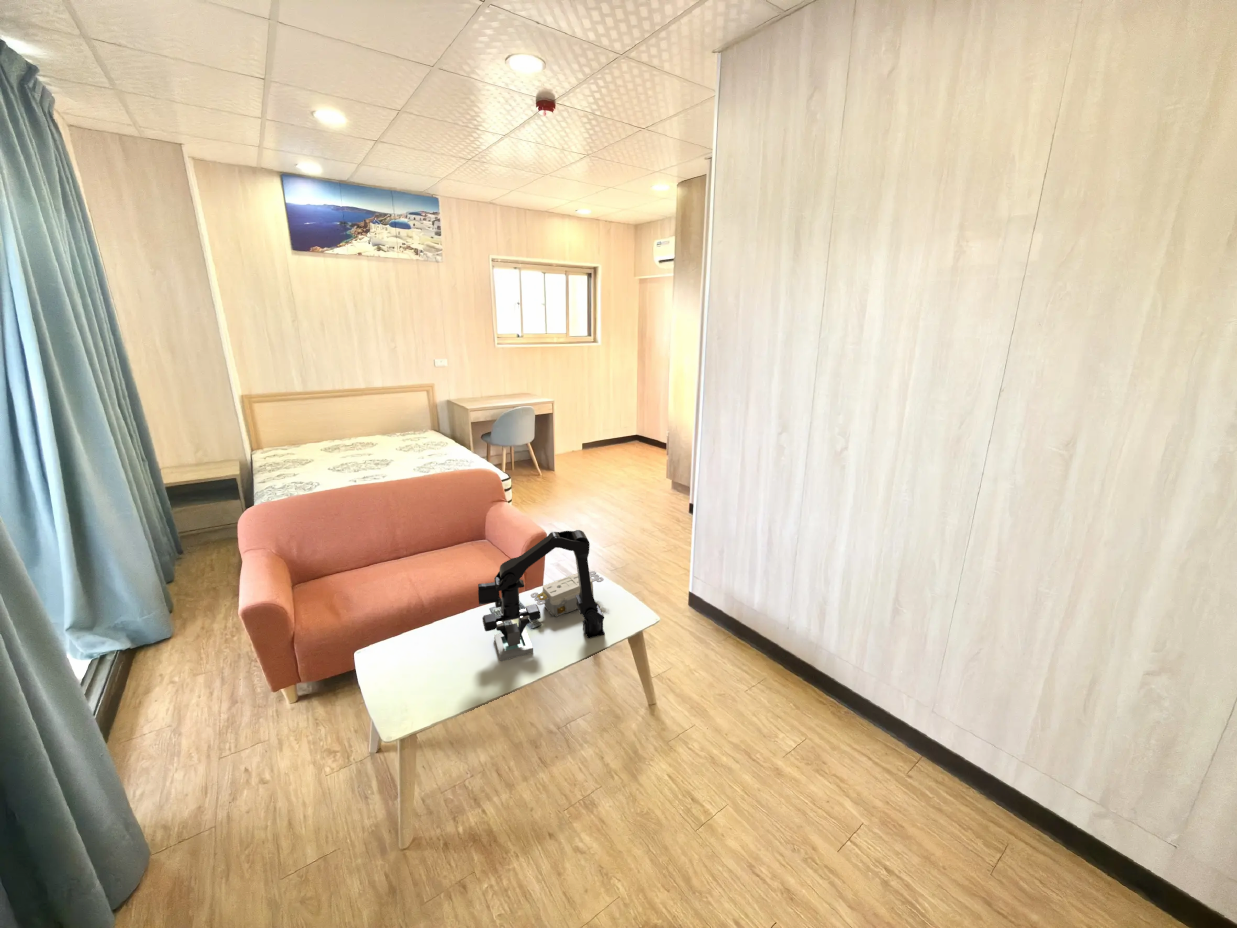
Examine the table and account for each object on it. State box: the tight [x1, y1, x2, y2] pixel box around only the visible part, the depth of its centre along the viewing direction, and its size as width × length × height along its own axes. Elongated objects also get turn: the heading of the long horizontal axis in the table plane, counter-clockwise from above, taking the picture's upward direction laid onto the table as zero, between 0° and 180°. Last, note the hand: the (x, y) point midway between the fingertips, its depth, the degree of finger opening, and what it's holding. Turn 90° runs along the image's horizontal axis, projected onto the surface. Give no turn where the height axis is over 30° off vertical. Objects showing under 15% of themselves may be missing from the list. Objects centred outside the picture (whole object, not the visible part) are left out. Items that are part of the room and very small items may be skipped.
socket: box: [493, 627, 534, 662], centre depth 166 cm, size 11×12×2 cm
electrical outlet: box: [530, 570, 604, 618], centre depth 190 cm, size 12×28×10 cm, turn 123°
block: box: [505, 622, 520, 647], centre depth 165 cm, size 4×5×5 cm
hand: (513, 638), depth 166 cm, fingers closed on block, 4 cm apart
